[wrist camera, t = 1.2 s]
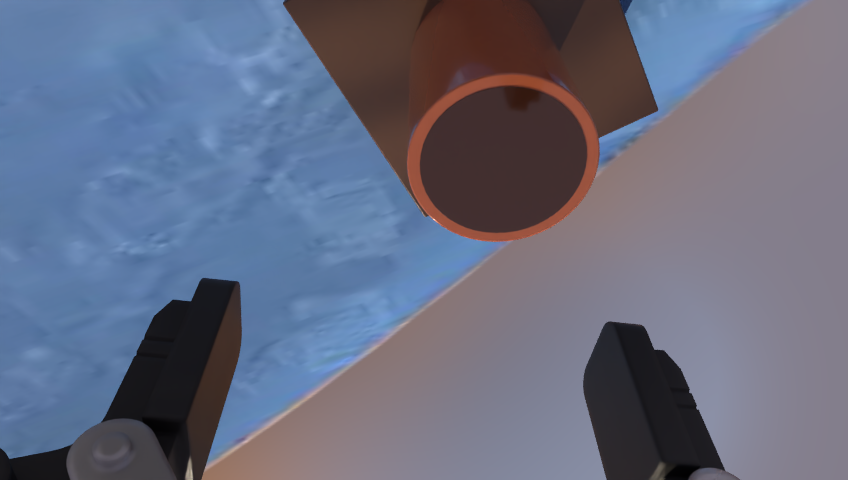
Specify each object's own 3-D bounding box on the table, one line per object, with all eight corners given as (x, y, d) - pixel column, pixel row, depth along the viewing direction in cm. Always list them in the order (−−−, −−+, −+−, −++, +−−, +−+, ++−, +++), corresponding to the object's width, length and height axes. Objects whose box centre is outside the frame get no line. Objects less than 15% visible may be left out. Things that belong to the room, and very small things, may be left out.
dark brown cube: (312, -48, 33) (281, 3, 26) (525, -182, 30) (560, -167, 22) (423, 135, 39) (424, 218, 32) (610, 42, 36) (659, 111, 29)
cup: (383, 32, 26) (370, 131, 19) (516, -42, 25) (557, 35, 17) (450, 145, 30) (460, 267, 22) (572, 86, 28) (625, 197, 21)
